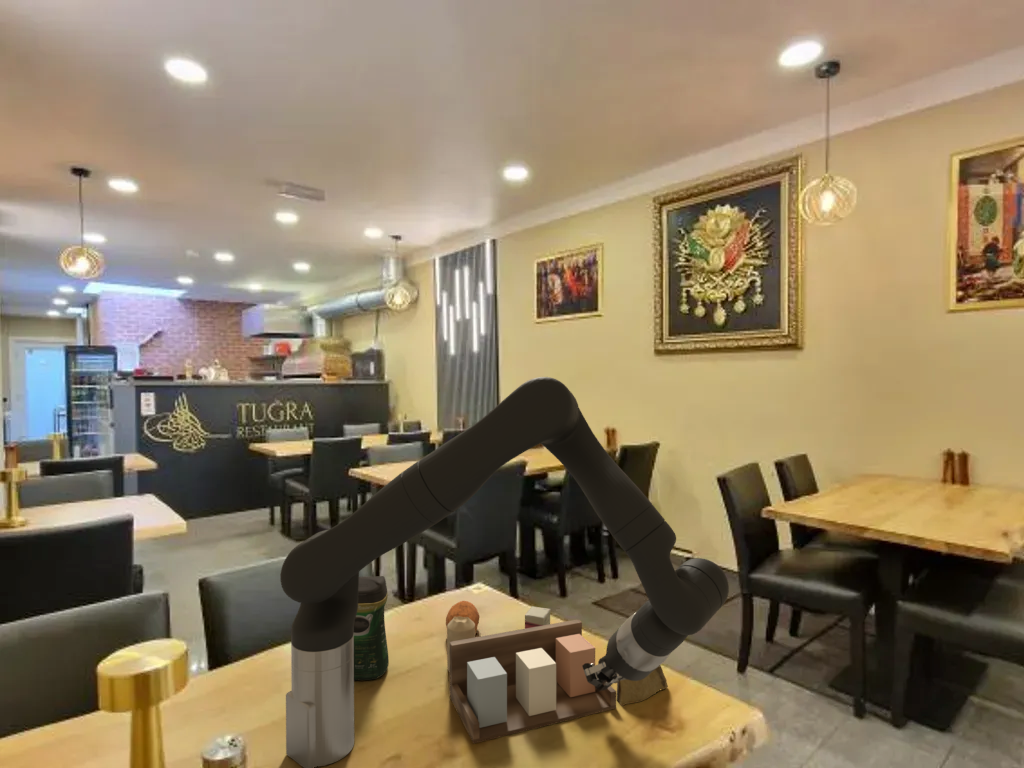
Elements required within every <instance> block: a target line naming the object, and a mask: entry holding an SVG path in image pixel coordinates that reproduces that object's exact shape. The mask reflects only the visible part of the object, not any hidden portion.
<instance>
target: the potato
mask: <svg viewBox="0 0 1024 768" xmlns="http://www.w3.org/2000/svg"><path fill="white" fill-rule="evenodd" d="M459 616H460V617H465V618H466V617H468V618H470V619H471V620H472V621H473V622H474V623H475V634H476V633H477V630H478V627H479V626H478V625H479V622H480V614H479V611H478V609H477V606H475V605H474V604H473V603H472V602H470V601H467V600H461V601H458V602H457V603H455V604H453V605H452V606H451V607H450V608H449V610H448V611H447V615H446V616H445V617H446V618H445V626H446V627H447V625H448V624H449V622H450V621H451V620H452V619H453V618H454V617H459Z"/></svg>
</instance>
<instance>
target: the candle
mask: <svg viewBox="0 0 1024 768" xmlns="http://www.w3.org/2000/svg"><path fill="white" fill-rule="evenodd" d="M446 637H447V638H446V640H447V641H446V643H447V645H446V648H447V649H446V652H447V653H446V655H447V657H446V660H447V661H446V663H447V664H446V665H447V671H448V672H449V673H450V642H452V641H458V640H464V639H469V638H475V637H476V633H475V623H474V622H473V621H472V620H471V619H470V618H468V617H466V618H465V617H460V616H459V617H454V618H453V619H452V620H451V621H450V622H449V624H448V625H447V626H446Z"/></svg>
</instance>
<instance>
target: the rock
mask: <svg viewBox="0 0 1024 768" xmlns="http://www.w3.org/2000/svg"><path fill="white" fill-rule="evenodd" d="M668 687H669V686H668V681H667V678H666V676H665V673H664V671H663V668H662V664H661V665H659V666H658V667H657V668H656V669H655V670H654V671H652V672H651V673H650V674H649V675H648V676H647V677H645V678H644V679H642V680H638V681H631V680H628V679H627V680H622V681H619V682H618V683H616V701H617V702H618V703H619V706H621V707H624V706H625V705H628V704H632V703H633V704H635V703H641V702H642V701H644V700H647V699H649V698H650V697H651V696H653V695H655V694H657V693H656V692H657V691H658V690H660V689H663V690H666V689H667V688H668ZM665 688H666V689H665ZM660 691H661V690H660ZM658 692H659V691H658Z"/></svg>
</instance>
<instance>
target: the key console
mask: <svg viewBox="0 0 1024 768" xmlns="http://www.w3.org/2000/svg"><path fill="white" fill-rule="evenodd" d="M582 631H583V623H582V621H581V620H580V619H578V618H577V619H570V620H565V621H561V622H560V621H559V622H555V623H550V624H549V625H543V626H537V627H532V628H526V629H525V628H521V629H517V630H516V629H515V630H510V631H505V632H503V631H502V632H498V633H494V634H493V633H492V634H487V635H482V636H475V638H469V639H464V640H458V641H452V642H450V672H449V698H450V700H451V702H452V705H453V704H454V705H453V707H454V706H455V707H454V709H455V710H456V712H457V715H458V717H459V718H460V720H461V722H462V723H463V726H464V728H465V730H466V733H468V735H469V738H470V739H471V740H470V741H471V742H472V744H477V743H481V742H486V741H490V740H492V739H497V738H502V737H506V736H510V735H513V734H517V733H518V734H519V733H522V732H526V731H531V730H533V729H538V728H542V727H545V726H546V727H547V726H549V725H550V726H551V725H554V724H558V723H561V722H566V721H570V720H574V719H578V718H582V717H587V716H591V715H595V714H599V713H602V712H606V711H607V712H608V711H610V710H615V709H617V689H615V688H614V687H612V685H611V686H610V687H609V688H608V689H606V690H603V691H598V690H597V689H596V688H595V692H592V693H587V694H583V695H579V696H574V697H570V696H569V695H568V694H567V693H566V692H565V691H564V690H563V688H562V687H561V686H560V685H559V684H558V683H557V682H556V710H553V711H549V712H545V713H541V714H536V715H532V716H529V715H528V714H527V712H526V711H525V710H524V708H523V707H522V705H521V704H520V703H519V701H518V700H517V698H516V653H517V652H522V651H528V650H533V649H538V648H542V649H543V650H544V651H545V652H546V653H547V654H548V655H549V656H550V657H551V658H552V659H553V661H554V662H555V663H556V638H559V637H565V636H570V635H575V634H580V635H581V636H583V632H582ZM491 657H495V658H496V659H497V661H498V662H499V663H500V665H501V666H502V668H503V669H504V670H505V672H506V673H507V722H503V723H499V724H494V725H490V726H486V727H482V728H479V722H478V720H477V718H476V716H475V714H474V713H473V711H472V709H471V707H470V705H469V704H468V702H467V662H470V661H476V660H481V659H486V658H491Z"/></svg>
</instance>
